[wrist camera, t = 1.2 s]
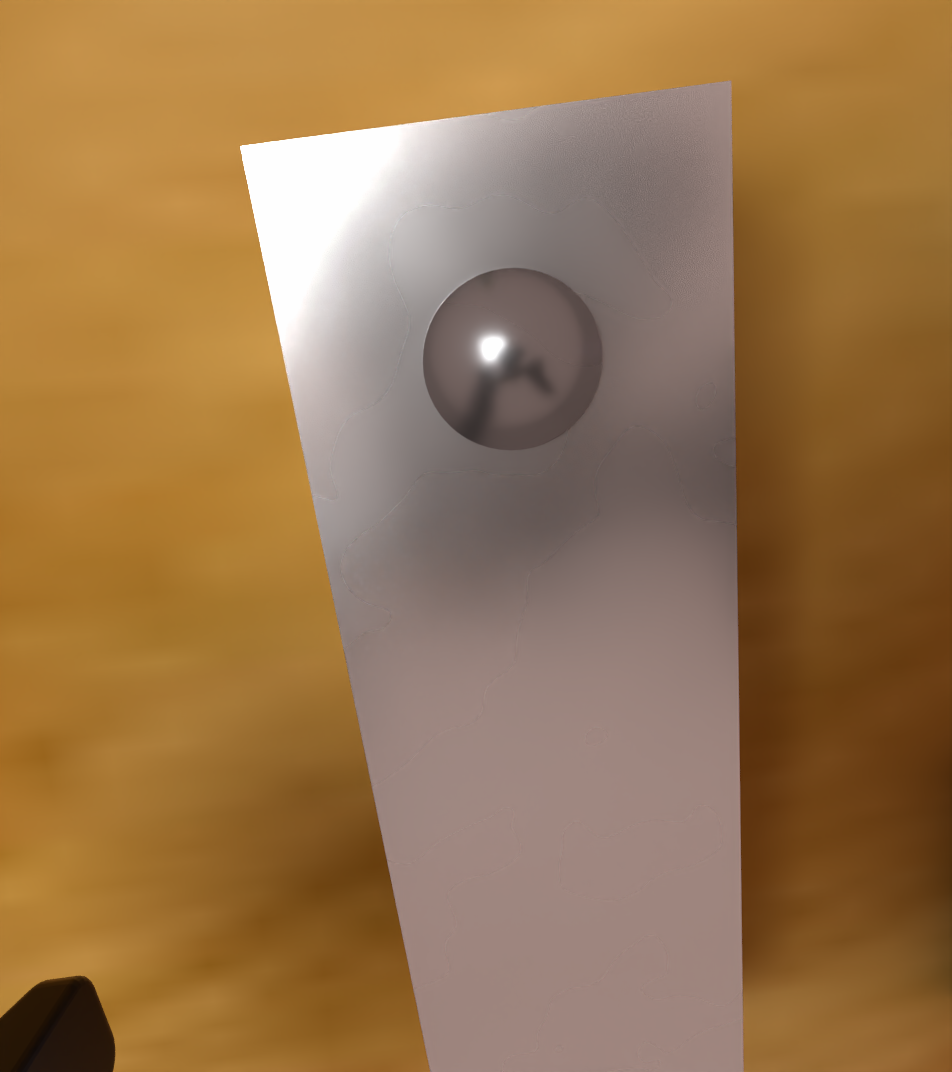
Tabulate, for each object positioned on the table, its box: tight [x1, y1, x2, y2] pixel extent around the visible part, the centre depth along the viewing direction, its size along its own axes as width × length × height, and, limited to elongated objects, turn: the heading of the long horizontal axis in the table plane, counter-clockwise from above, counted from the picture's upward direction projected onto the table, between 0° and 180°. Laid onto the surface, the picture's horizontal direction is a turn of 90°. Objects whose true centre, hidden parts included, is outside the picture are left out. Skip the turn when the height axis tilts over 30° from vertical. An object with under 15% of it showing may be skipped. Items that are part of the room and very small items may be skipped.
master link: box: [240, 81, 744, 1072], centre depth 11 cm, size 14×4×4 cm, turn 7°
